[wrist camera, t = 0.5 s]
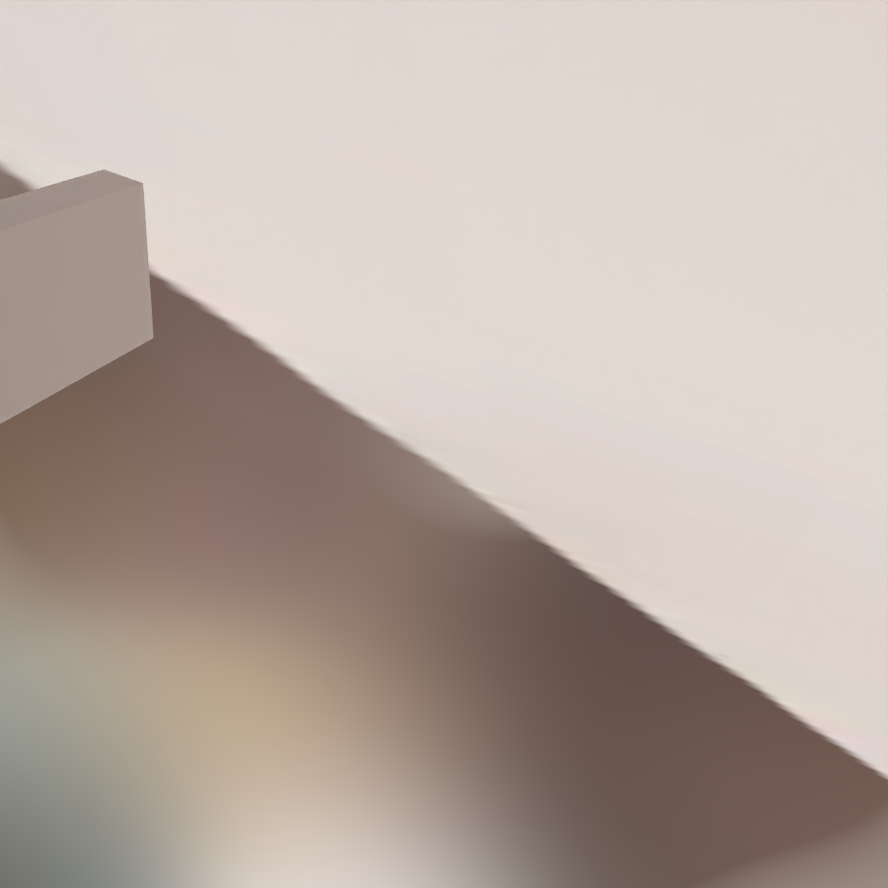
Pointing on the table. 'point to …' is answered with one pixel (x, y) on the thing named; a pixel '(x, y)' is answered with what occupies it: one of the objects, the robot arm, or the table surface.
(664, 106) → the table surface
